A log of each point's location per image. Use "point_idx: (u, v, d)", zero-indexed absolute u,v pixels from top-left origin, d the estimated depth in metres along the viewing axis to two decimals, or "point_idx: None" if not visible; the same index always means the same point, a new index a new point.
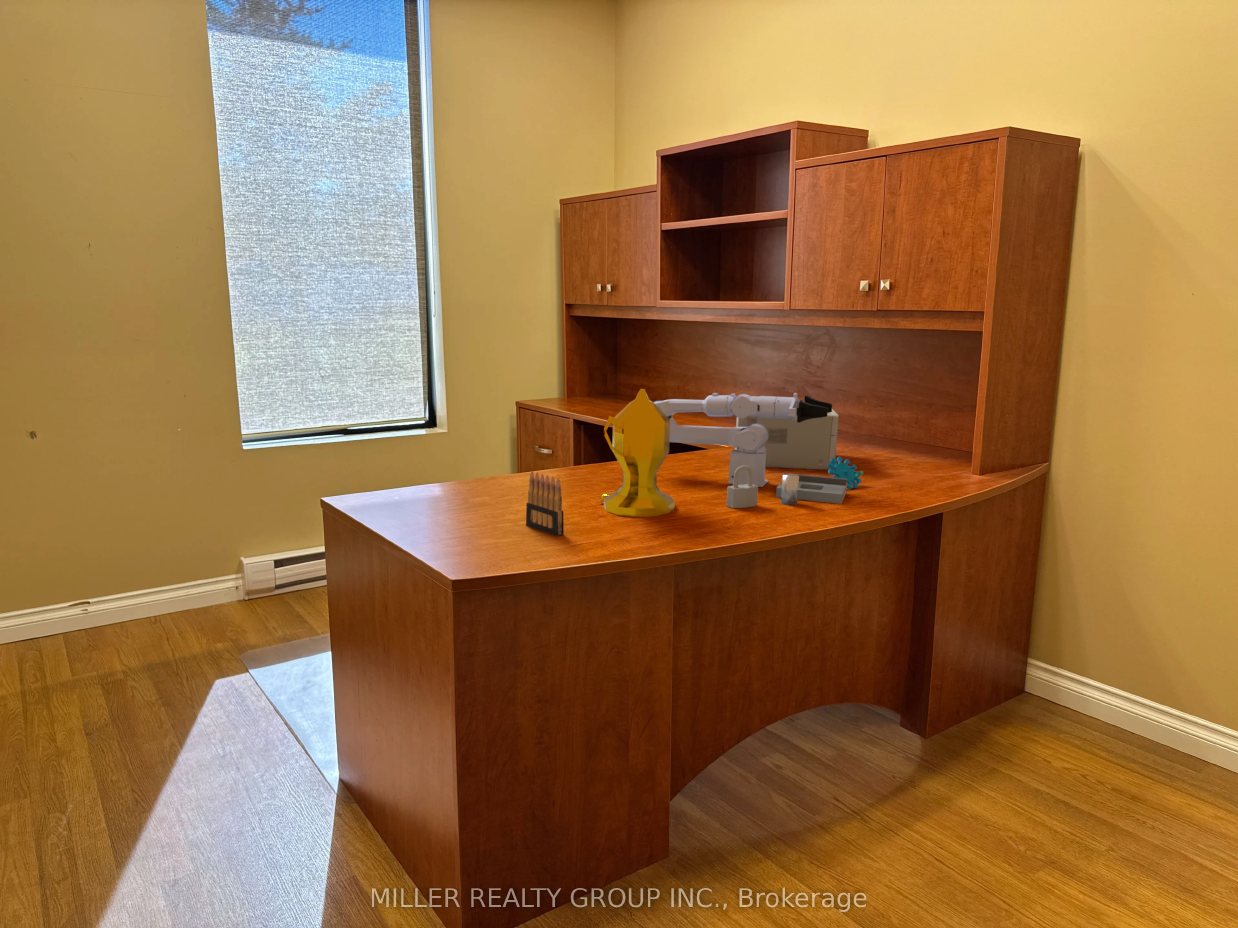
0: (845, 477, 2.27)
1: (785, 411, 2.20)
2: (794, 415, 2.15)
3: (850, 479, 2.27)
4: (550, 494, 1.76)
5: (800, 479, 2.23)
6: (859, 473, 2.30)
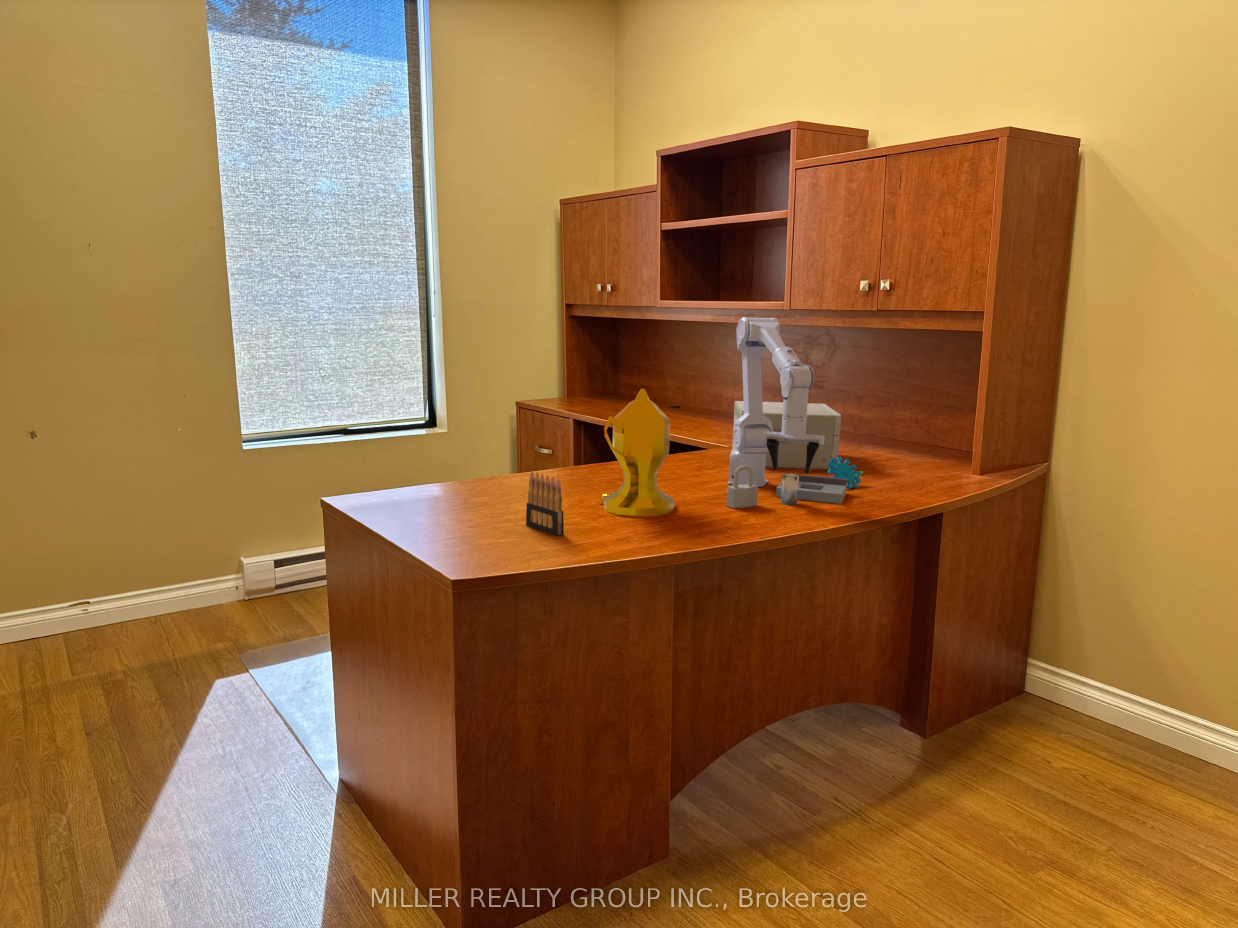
0: (845, 477, 2.27)
1: None
2: None
3: (850, 479, 2.27)
4: (550, 494, 1.76)
5: (800, 479, 2.23)
6: (859, 473, 2.30)
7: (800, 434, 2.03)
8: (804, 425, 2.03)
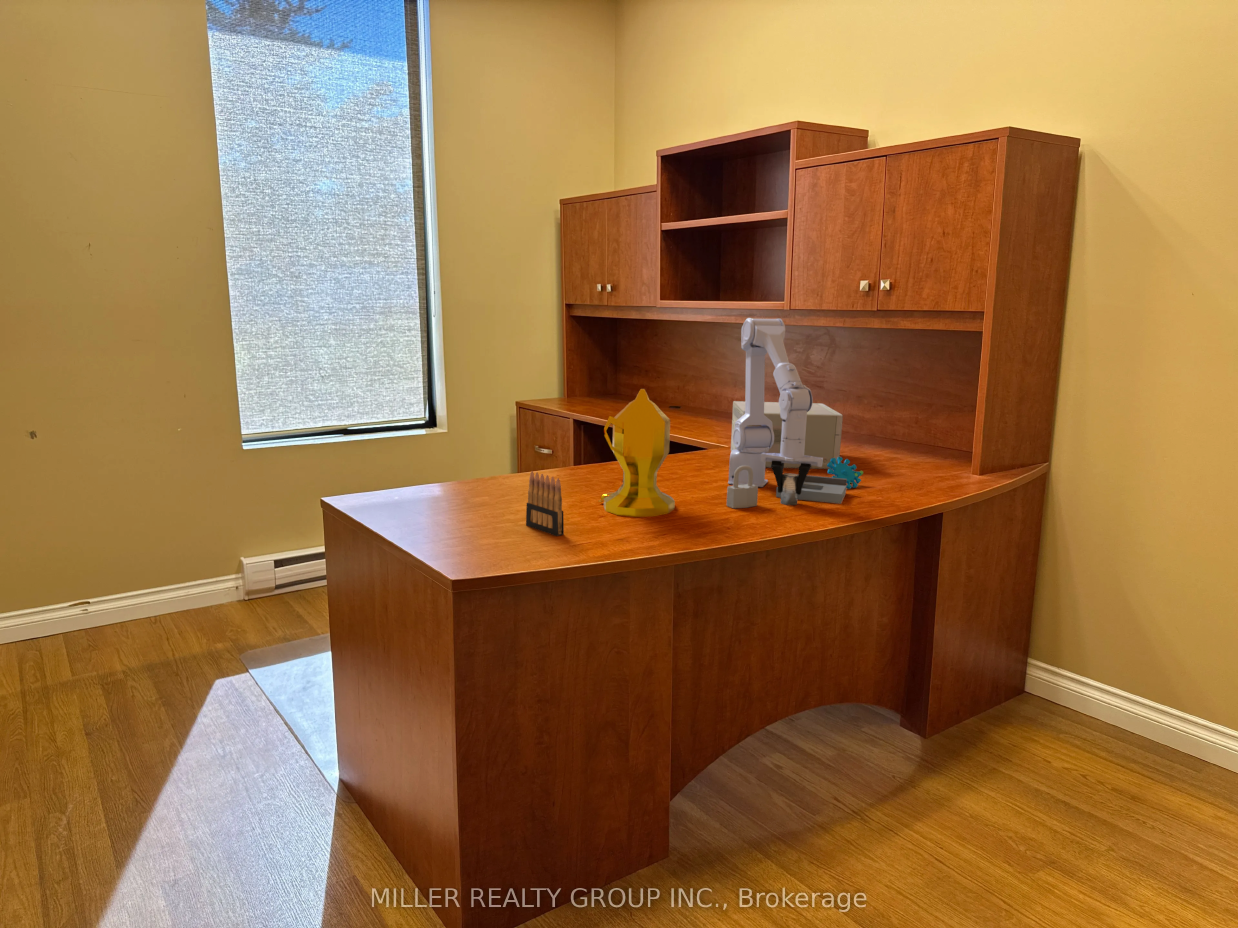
0: (844, 477, 2.27)
1: None
2: None
3: (849, 479, 2.27)
4: (550, 494, 1.76)
5: None
6: (859, 473, 2.30)
7: (798, 456, 2.04)
8: (802, 447, 2.04)
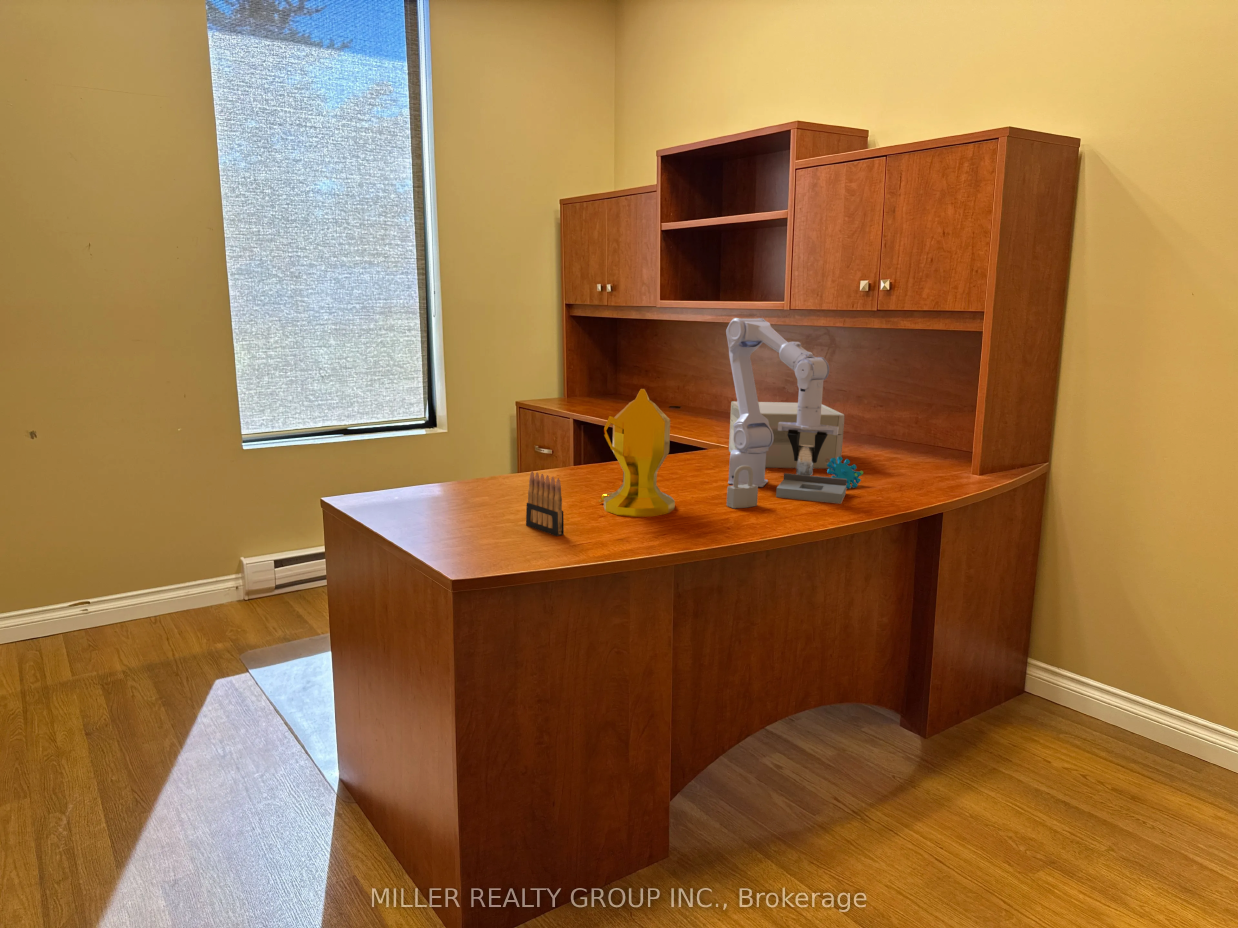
0: (844, 477, 2.27)
1: None
2: None
3: (849, 479, 2.27)
4: (550, 494, 1.76)
5: (800, 479, 2.23)
6: (859, 473, 2.30)
7: (815, 424, 2.08)
8: (819, 416, 2.08)
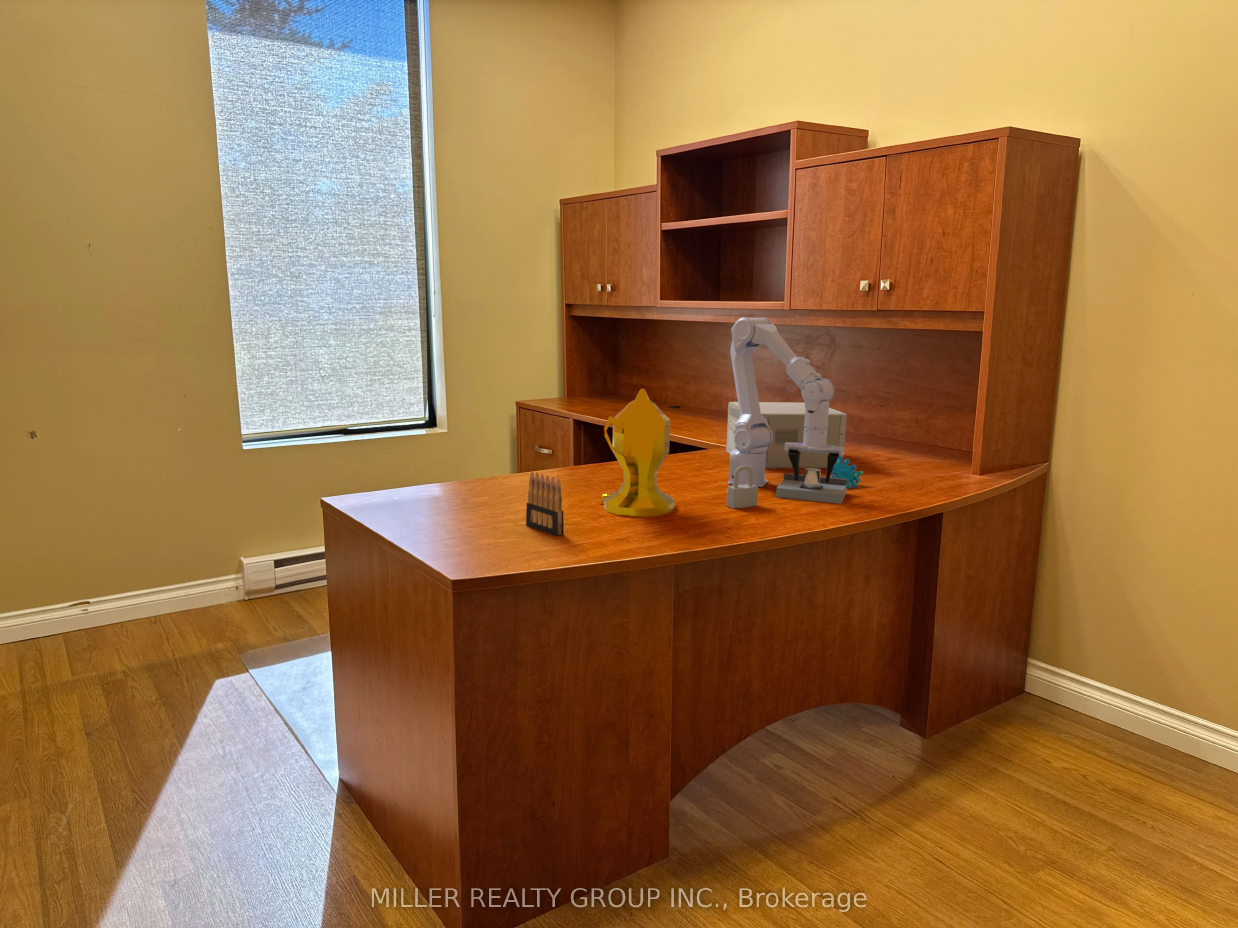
0: (843, 476, 2.27)
1: None
2: None
3: (849, 479, 2.27)
4: (550, 494, 1.76)
5: (800, 479, 2.23)
6: (859, 473, 2.30)
7: (821, 445, 2.11)
8: (825, 436, 2.12)
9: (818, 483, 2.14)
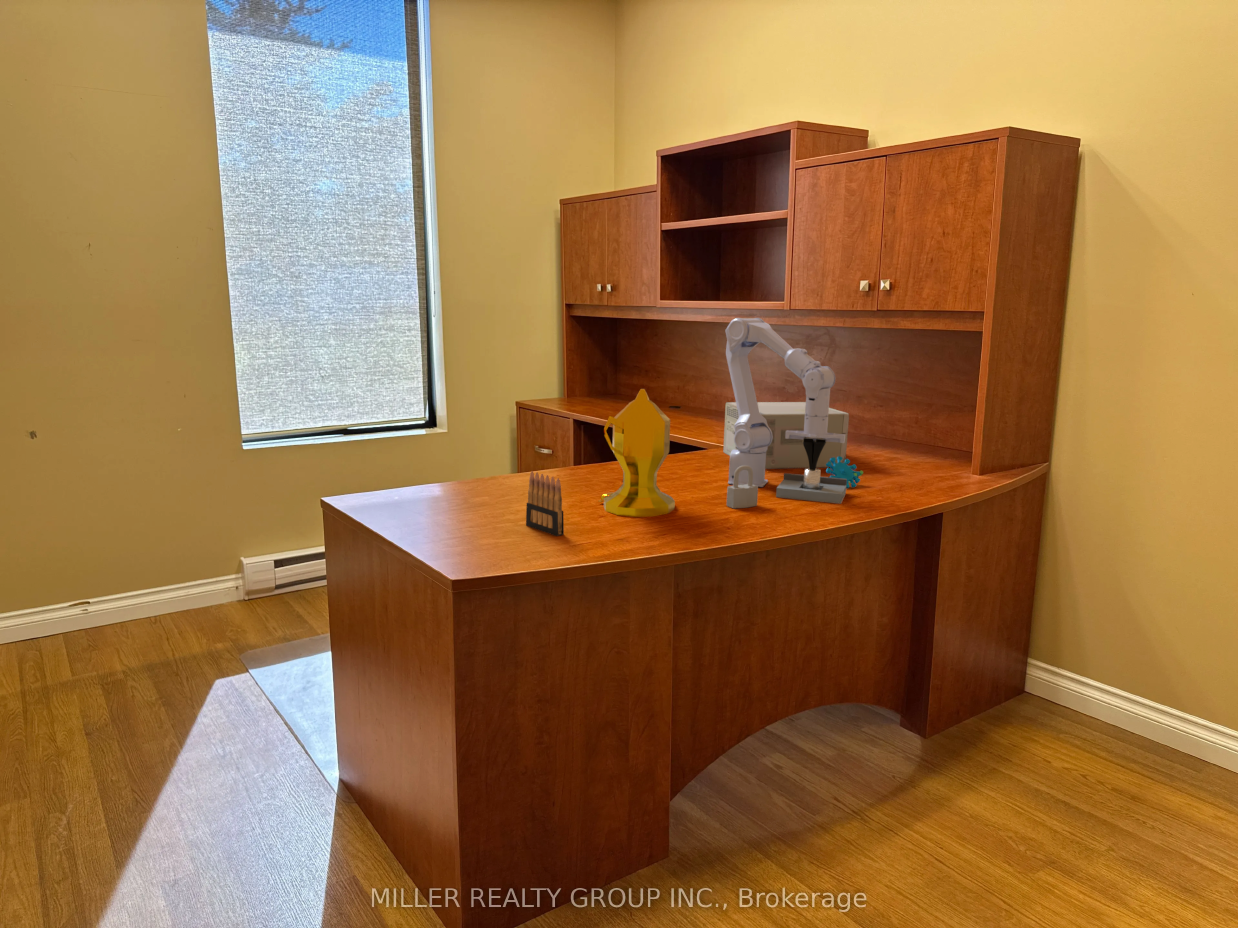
0: (843, 476, 2.27)
1: None
2: None
3: (848, 478, 2.28)
4: (550, 494, 1.76)
5: (800, 479, 2.23)
6: (858, 473, 2.30)
7: (822, 433, 2.11)
8: (826, 424, 2.11)
9: (818, 483, 2.14)
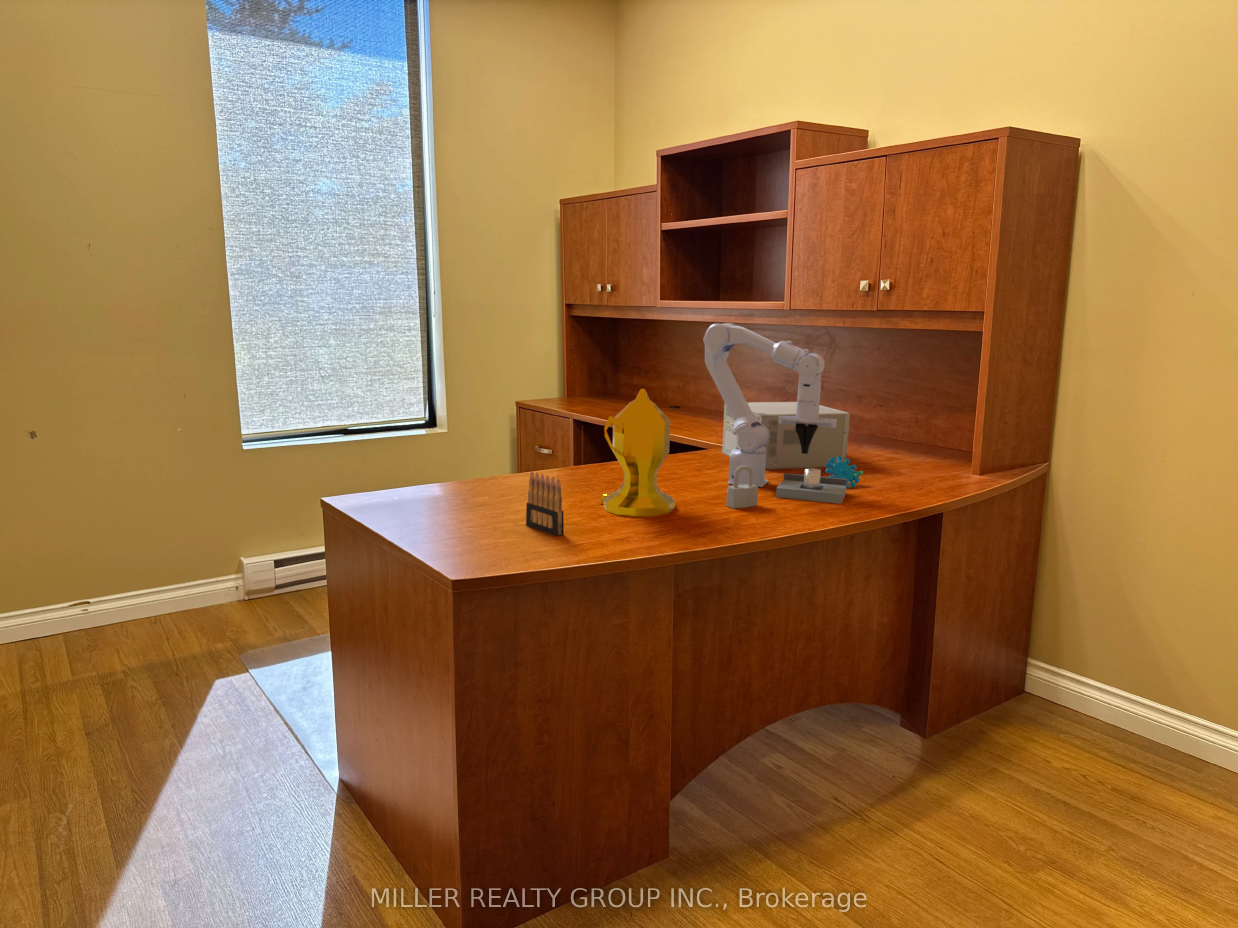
0: (843, 476, 2.28)
1: None
2: None
3: (848, 478, 2.28)
4: (550, 494, 1.76)
5: (800, 479, 2.23)
6: (858, 473, 2.30)
7: (814, 418, 2.17)
8: (817, 409, 2.17)
9: (818, 483, 2.14)
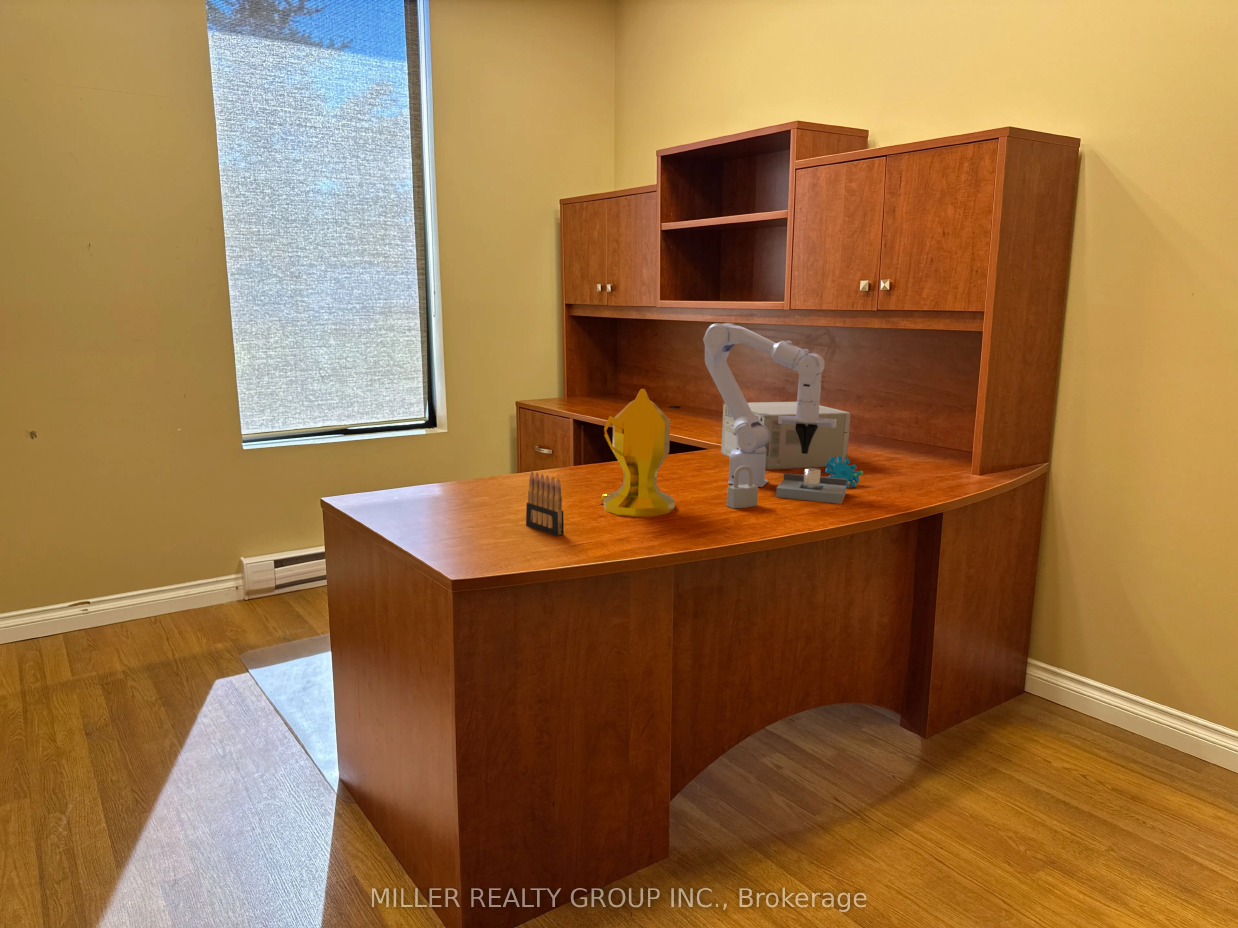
0: (842, 476, 2.28)
1: None
2: None
3: (848, 478, 2.28)
4: (550, 494, 1.76)
5: (800, 479, 2.23)
6: (858, 473, 2.30)
7: (814, 418, 2.17)
8: (817, 409, 2.17)
9: (818, 483, 2.14)
